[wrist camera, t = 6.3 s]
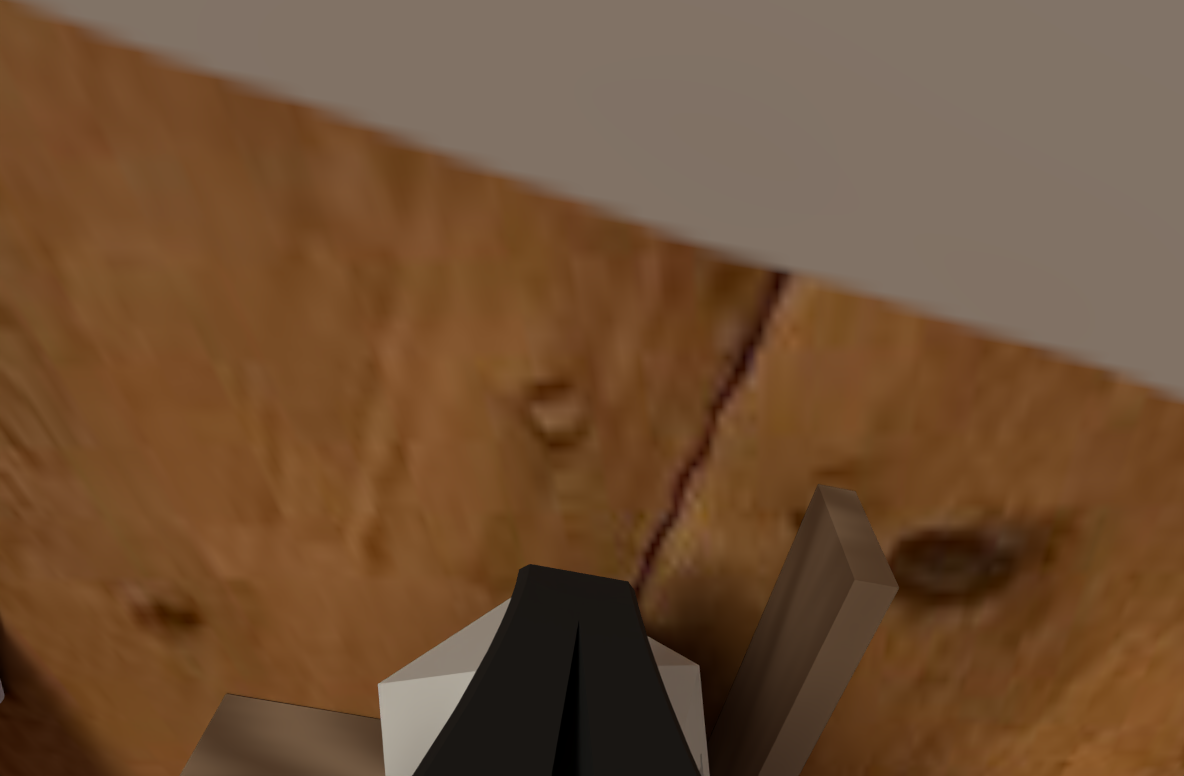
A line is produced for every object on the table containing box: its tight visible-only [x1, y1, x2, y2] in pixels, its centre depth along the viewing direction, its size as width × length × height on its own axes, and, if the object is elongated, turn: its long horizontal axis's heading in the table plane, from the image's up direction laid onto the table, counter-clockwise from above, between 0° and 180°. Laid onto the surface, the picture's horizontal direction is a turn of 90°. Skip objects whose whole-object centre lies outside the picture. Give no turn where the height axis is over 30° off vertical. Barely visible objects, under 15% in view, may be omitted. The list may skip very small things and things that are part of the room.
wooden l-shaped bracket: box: [180, 484, 899, 776], centre depth 20 cm, size 17×14×4 cm
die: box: [378, 598, 710, 776], centre depth 19 cm, size 8×9×10 cm
